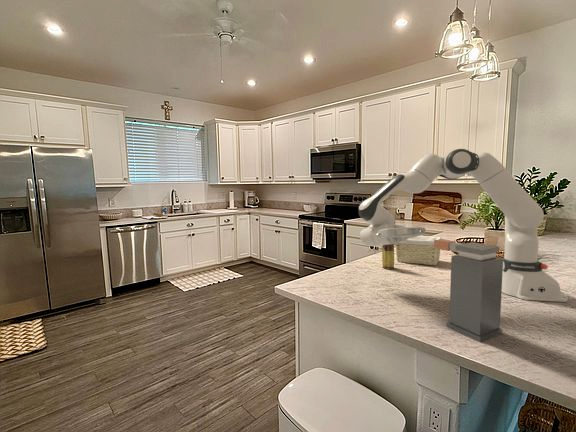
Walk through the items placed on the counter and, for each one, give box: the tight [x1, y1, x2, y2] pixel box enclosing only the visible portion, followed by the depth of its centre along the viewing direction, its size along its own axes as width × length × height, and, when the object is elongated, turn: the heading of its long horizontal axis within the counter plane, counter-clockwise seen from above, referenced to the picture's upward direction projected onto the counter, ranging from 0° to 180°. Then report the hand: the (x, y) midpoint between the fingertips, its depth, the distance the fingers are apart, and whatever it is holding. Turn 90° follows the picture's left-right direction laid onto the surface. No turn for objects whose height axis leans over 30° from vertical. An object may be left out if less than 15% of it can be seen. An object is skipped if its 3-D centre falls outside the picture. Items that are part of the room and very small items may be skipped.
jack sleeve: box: [446, 254, 504, 343], centre depth 96 cm, size 11×11×24 cm
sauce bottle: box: [381, 244, 395, 270], centre depth 168 cm, size 7×6×20 cm
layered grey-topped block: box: [434, 238, 500, 262], centre depth 100 cm, size 18×8×24 cm, turn 26°
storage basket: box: [395, 235, 443, 266], centre depth 181 cm, size 24×16×15 cm
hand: (416, 230), depth 118 cm, fingers open, 8 cm apart
